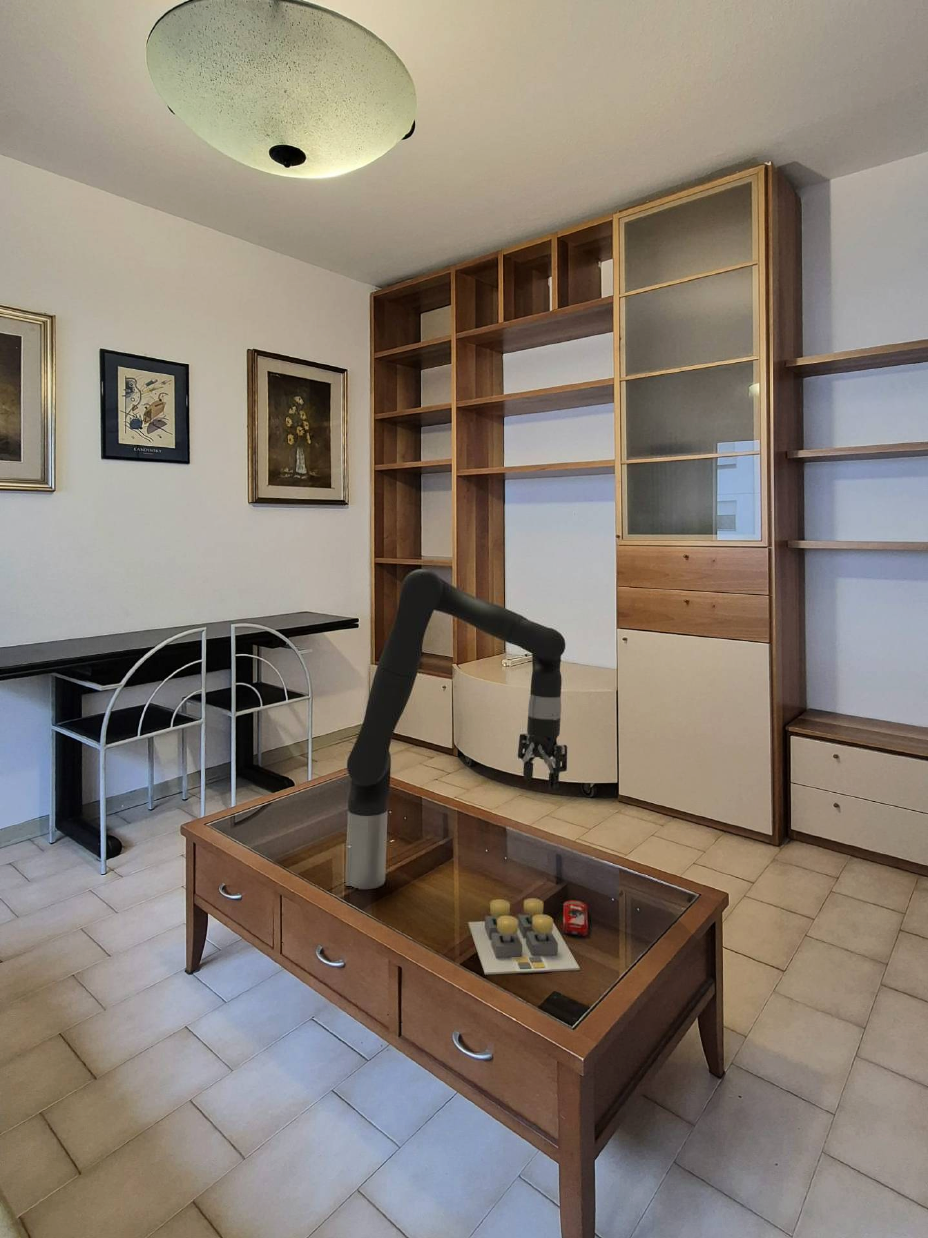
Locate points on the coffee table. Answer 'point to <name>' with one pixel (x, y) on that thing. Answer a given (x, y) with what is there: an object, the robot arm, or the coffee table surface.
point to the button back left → (499, 908)
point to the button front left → (507, 927)
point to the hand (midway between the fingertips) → (540, 783)
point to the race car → (575, 918)
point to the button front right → (542, 925)
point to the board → (520, 949)
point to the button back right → (533, 908)
